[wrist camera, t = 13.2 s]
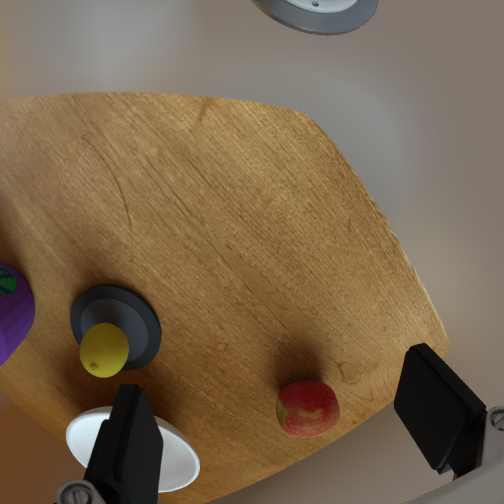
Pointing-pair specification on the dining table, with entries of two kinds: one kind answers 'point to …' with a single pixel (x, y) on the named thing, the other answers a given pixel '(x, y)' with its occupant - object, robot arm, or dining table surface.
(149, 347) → the plate
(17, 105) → the dining table surface
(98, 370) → the lemon
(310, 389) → the apple
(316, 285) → the dining table surface
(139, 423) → the robot arm
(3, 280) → the mug
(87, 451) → the bowl
